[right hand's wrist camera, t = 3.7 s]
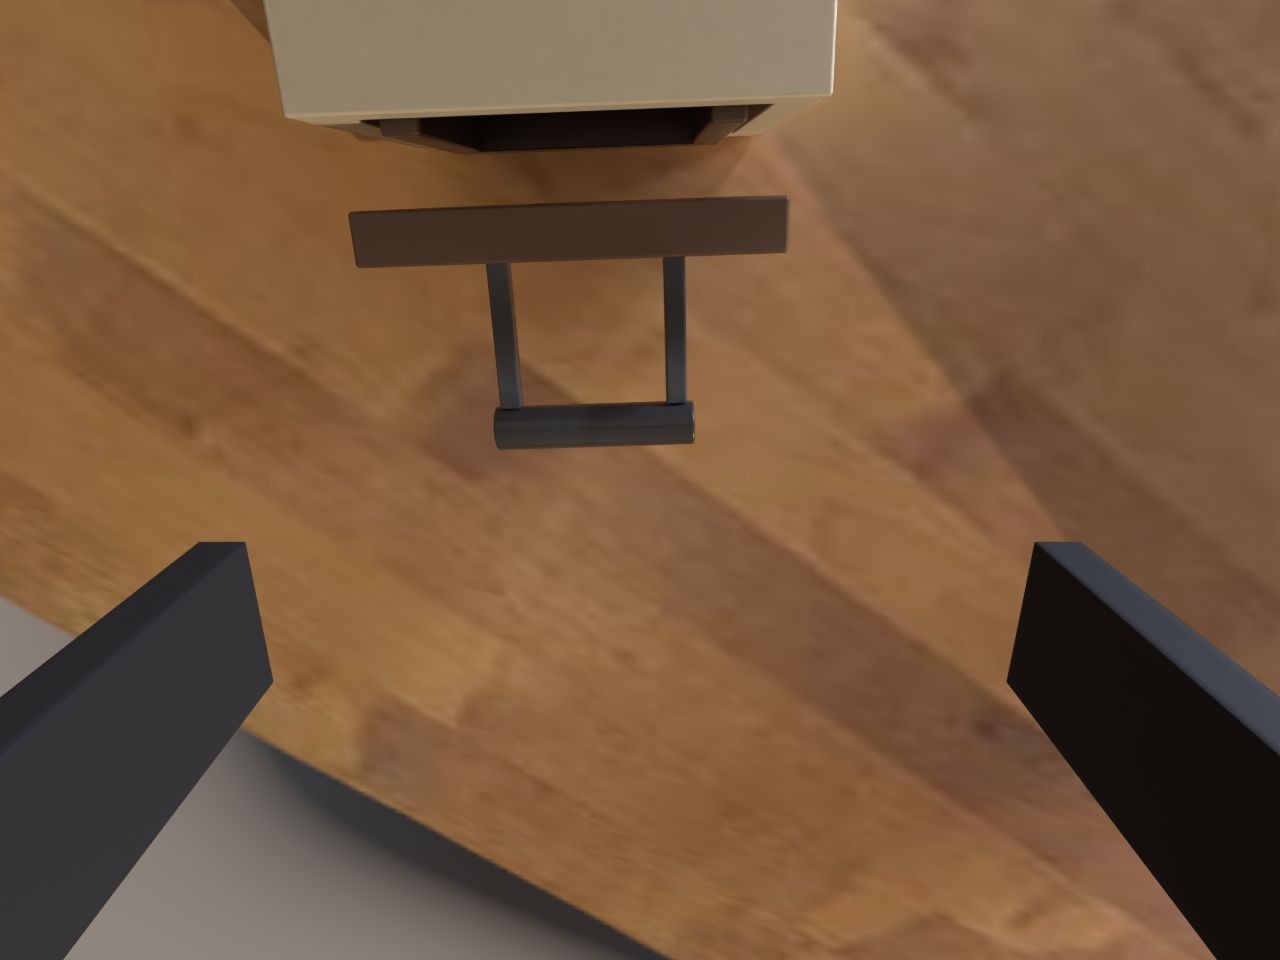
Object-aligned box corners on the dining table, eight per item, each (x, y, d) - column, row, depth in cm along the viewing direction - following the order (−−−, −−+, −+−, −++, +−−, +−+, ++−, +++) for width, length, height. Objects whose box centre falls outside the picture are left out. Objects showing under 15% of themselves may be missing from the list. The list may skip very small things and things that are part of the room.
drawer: (741, 408, 26) (780, 493, 19) (465, 417, 27) (393, 505, 19) (753, -518, 18) (830, -1024, 11) (355, -497, 18) (153, -982, 11)
